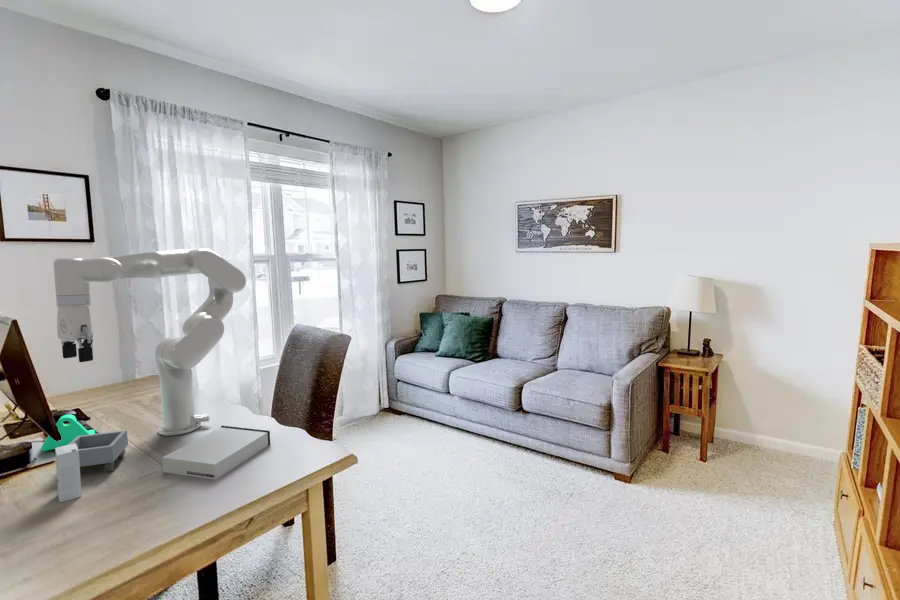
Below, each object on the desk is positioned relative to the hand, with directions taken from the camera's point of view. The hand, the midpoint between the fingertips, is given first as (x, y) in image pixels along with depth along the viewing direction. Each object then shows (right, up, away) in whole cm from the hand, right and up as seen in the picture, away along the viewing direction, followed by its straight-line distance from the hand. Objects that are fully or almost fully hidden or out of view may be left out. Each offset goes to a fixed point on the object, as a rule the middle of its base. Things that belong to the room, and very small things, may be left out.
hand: (77, 359), depth 131 cm
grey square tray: (+9, -30, -4) cm, 31 cm away
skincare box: (+14, -32, -19) cm, 39 cm away
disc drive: (+41, -30, +1) cm, 50 cm away
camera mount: (-11, -29, +11) cm, 33 cm away
